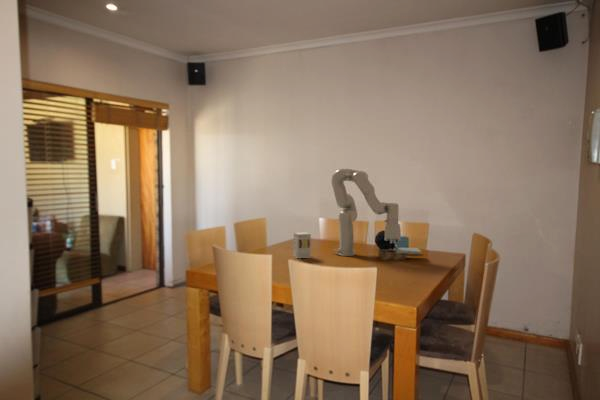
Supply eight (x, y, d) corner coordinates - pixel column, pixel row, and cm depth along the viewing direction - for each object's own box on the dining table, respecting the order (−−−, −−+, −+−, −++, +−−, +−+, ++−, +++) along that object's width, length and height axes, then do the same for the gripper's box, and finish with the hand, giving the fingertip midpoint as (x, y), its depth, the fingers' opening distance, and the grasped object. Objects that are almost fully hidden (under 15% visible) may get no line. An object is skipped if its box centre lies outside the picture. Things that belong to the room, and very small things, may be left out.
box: (381, 260, 275) (381, 252, 275) (378, 256, 286) (378, 249, 286) (405, 260, 275) (405, 252, 274) (402, 256, 286) (402, 249, 285)
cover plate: (396, 254, 274) (396, 247, 274) (393, 250, 286) (393, 244, 286) (421, 254, 273) (421, 247, 272) (417, 251, 285) (417, 244, 285)
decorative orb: (368, 241, 318) (375, 226, 309) (384, 239, 324) (392, 225, 315) (377, 255, 308) (384, 240, 299) (393, 253, 314) (401, 239, 305)
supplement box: (297, 259, 280) (297, 234, 278) (293, 256, 288) (293, 232, 287) (311, 258, 283) (310, 233, 281) (306, 255, 291) (306, 231, 290)
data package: (406, 252, 301) (406, 235, 301) (408, 253, 297) (408, 236, 296) (390, 252, 301) (390, 235, 300) (391, 253, 296) (392, 237, 295)
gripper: (382, 222, 275) (382, 250, 276) (405, 222, 275) (404, 250, 276) (380, 221, 283) (380, 248, 284) (402, 221, 282) (402, 248, 283)
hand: (392, 249), depth 280 cm, fingers closed
